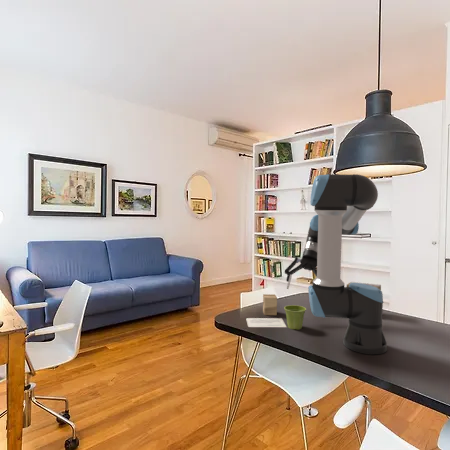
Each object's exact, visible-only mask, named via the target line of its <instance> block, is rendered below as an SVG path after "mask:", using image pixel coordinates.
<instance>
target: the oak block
mask: <svg viewBox="0 0 450 450" xmlns="http://www.w3.org/2000/svg"><path fill="white" fill-rule="evenodd" d="M277 307H278V297H277V295H276V294H268V293H267V294H266V293H265V294H262V313H263V315H264V316H277V313H278V308H277Z"/></svg>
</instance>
